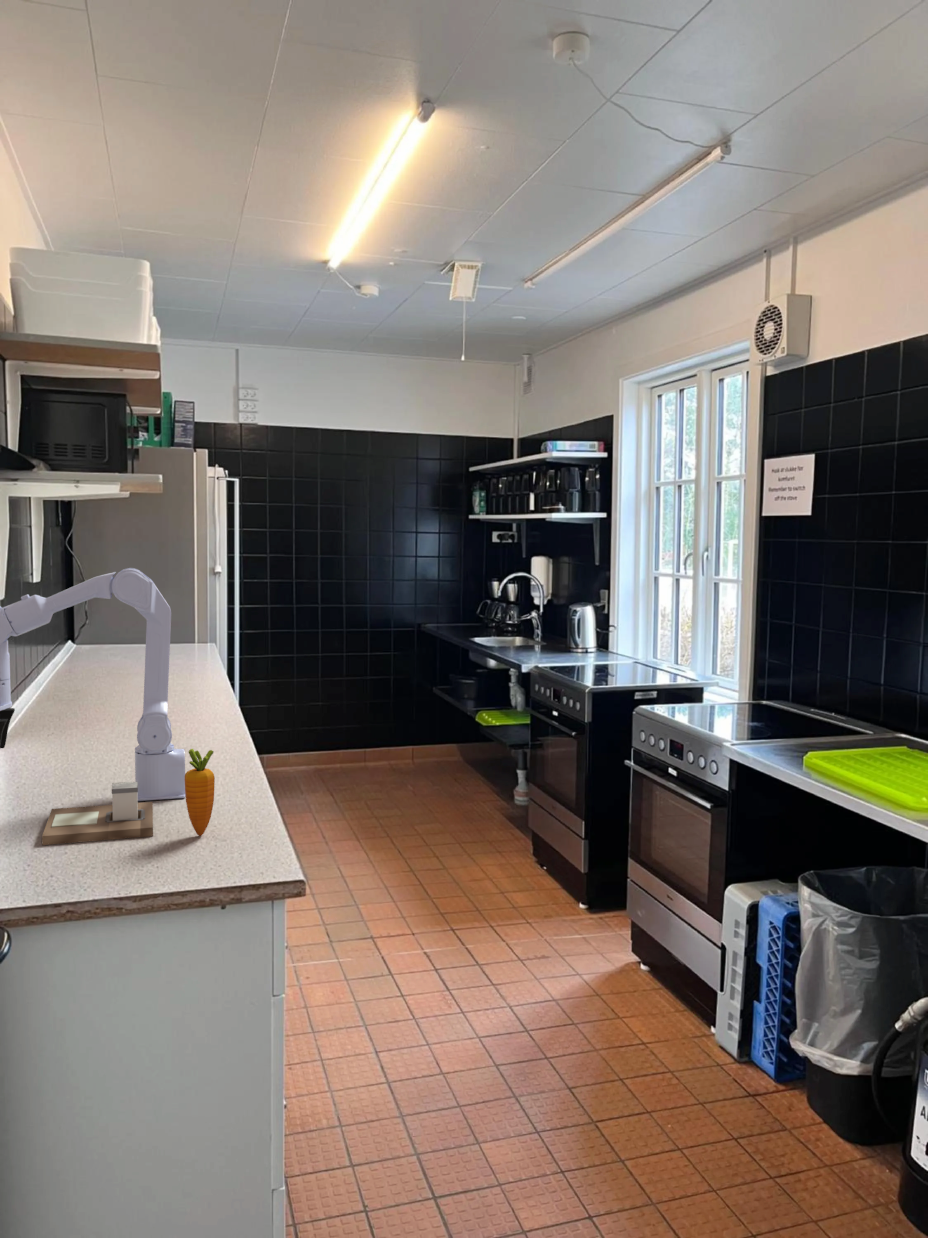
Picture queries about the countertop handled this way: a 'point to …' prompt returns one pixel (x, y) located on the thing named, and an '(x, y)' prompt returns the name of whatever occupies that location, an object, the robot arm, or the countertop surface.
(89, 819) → the brown board with panel
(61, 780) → the countertop surface
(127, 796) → the plug
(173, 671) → the countertop surface
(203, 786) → the carrot
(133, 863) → the countertop surface
